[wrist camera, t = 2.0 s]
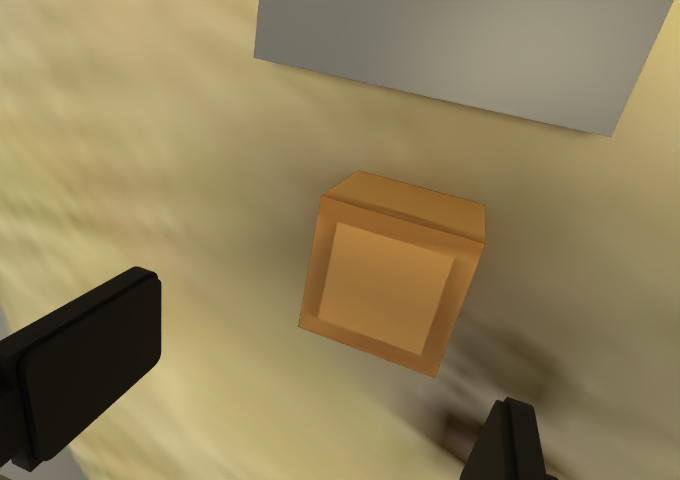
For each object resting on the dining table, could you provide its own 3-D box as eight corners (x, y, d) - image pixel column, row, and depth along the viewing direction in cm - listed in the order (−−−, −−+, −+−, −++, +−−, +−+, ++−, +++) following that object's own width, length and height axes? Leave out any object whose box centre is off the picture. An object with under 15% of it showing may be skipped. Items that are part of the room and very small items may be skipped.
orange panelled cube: (484, 205, 18) (485, 244, 14) (445, 315, 21) (434, 378, 16) (358, 170, 19) (321, 195, 15) (335, 277, 22) (298, 326, 17)
